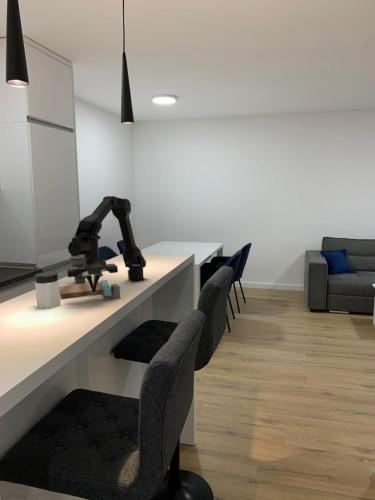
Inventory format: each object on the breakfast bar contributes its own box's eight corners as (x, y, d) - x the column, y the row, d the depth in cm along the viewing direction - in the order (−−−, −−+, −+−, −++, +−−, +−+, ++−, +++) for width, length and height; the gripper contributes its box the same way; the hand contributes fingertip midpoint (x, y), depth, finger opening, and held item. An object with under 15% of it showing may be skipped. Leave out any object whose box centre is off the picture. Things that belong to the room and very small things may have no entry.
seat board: (106, 285, 179) (106, 281, 179) (111, 292, 166) (111, 288, 166) (59, 291, 172) (59, 286, 172) (61, 299, 159) (61, 294, 159)
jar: (62, 306, 149) (59, 274, 147) (38, 310, 145) (35, 277, 143) (58, 300, 157) (55, 270, 155) (36, 304, 153) (33, 273, 151)
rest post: (117, 294, 163) (116, 283, 162) (120, 298, 157) (119, 287, 157) (111, 295, 162) (110, 284, 161) (114, 299, 156) (113, 287, 156)
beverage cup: (84, 284, 182) (80, 241, 179) (69, 284, 184) (65, 241, 181) (91, 280, 189) (87, 238, 186) (76, 280, 191) (73, 239, 188)
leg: (100, 286, 168) (100, 280, 168) (107, 285, 169) (107, 280, 168) (104, 295, 153) (103, 289, 153) (111, 294, 154) (111, 288, 153)
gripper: (67, 257, 143) (70, 299, 145) (119, 252, 149) (121, 293, 151) (65, 253, 153) (68, 293, 155) (113, 249, 159) (116, 287, 162)
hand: (93, 291), depth 156 cm, fingers closed
